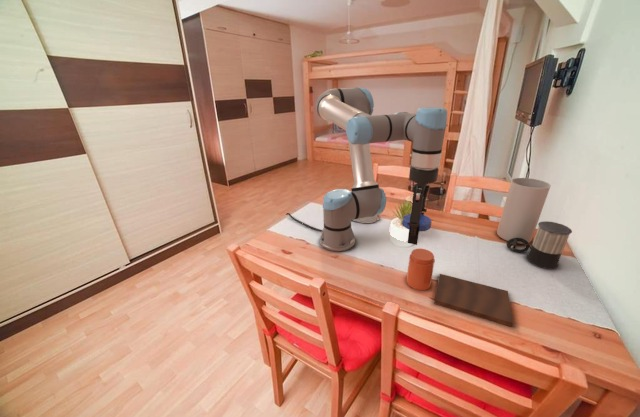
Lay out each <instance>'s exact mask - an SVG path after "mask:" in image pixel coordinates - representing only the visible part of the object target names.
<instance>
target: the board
mask: <svg viewBox="0 0 640 417" xmlns="http://www.w3.org/2000/svg"><path fill="white" fill-rule="evenodd" d="M434 304H435V305H438V306H442V307H444V308H448V309H452V310H455V311H458V312H461V313H465V314H468V315H471V316H474V317H478V318H481V319H484V320H488V321H491V322H494V323H497V324H501V325H504V326H507V327H513V325H514V320H513V313H512V307H511V302H510V294H509V291H508V290H505V289H502V288H498V287H494V286H490V285H486V284H482V283H479V282H474V281H471V280H466V279H462V278H458V277H455V276H451V275H447V274H443V273H439V274H438V281H437V285H436V290H435V297H434Z"/></svg>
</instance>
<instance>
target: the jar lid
mask: <svg viewBox="0 0 640 417" xmlns="http://www.w3.org/2000/svg"><path fill="white" fill-rule="evenodd" d="M410 216H411V214H407V215H403V217H402V222H401V224H402V226H403V227H404V228H405V229H407V230H409V227H410V226H409V225H407V223H410ZM419 224H420V228H419V232H427V231H429V230H430V229H431V228H432V227H431V226H432V219H431V218H430V217H429V216H428V215H425V214H424V215H422V214H421V217H420V223H419Z"/></svg>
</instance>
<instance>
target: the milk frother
mask: <svg viewBox="0 0 640 417" xmlns="http://www.w3.org/2000/svg"><path fill="white" fill-rule="evenodd" d="M537 226H538V227H537V230H536V233H535V236H534V239H533V240H532V241H533V242H532V243H531V244H530V242H529V243H528V242H527V241H526V240H525V239H522V238H513V239H510V240H508V241H506V244H505V245H506V247H507V248H508V249H509V250H510V251H512V252H514V253H515V252H516V253H525V252H527V251H528V250H529V249H530V250H529V251H528V254H527V255H526V259H527V261H528V262H529V263H530V264H532V265H534V266H537V267H540V268H542V269H549V270H553V269H557V268H558V266H559V261H560V259H561V257H562V254H563V252H564V249H565V247H566V245H567V242H568V239H569V237H570V235H571V234H572V233H573V229H571V228H570V227H569V226H567V225H564V224H562V223H558V222H554V221H547V220H546V221H545V220H544V221H539V222H538V223H537ZM517 241H519V242H522V243H524V244H523V245H524V248H516V247H517Z"/></svg>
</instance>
